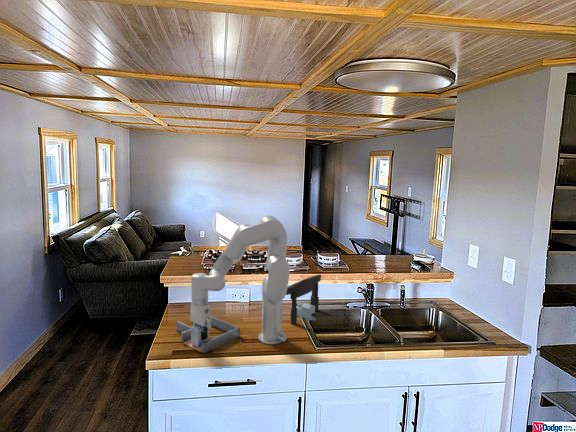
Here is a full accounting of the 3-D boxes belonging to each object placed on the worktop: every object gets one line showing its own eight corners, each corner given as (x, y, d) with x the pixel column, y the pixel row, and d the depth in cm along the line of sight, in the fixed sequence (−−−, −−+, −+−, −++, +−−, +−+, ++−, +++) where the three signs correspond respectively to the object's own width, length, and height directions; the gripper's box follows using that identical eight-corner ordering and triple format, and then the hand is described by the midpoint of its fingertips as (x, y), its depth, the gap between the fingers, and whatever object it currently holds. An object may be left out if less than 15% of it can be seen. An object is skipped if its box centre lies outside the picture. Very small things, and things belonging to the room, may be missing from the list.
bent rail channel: (239, 336, 196) (239, 327, 196) (203, 353, 179) (203, 343, 179) (202, 320, 214) (202, 312, 213) (166, 333, 197) (166, 325, 196)
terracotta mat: (216, 344, 188) (216, 343, 188) (200, 352, 180) (200, 351, 180) (199, 336, 195) (199, 335, 195) (183, 343, 188) (183, 342, 188)
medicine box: (197, 347, 183) (197, 329, 182) (190, 344, 186) (190, 326, 184) (209, 340, 190) (209, 323, 189) (202, 338, 192) (202, 320, 191)
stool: (274, 283, 211) (309, 270, 237) (273, 321, 214) (308, 304, 240) (298, 290, 202) (332, 275, 228) (297, 330, 205) (330, 311, 231)
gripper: (218, 302, 182) (218, 340, 185) (194, 293, 193) (195, 329, 196) (205, 307, 176) (205, 346, 179) (181, 297, 187) (182, 334, 190)
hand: (200, 337), depth 187 cm, fingers closed on medicine box, 4 cm apart
